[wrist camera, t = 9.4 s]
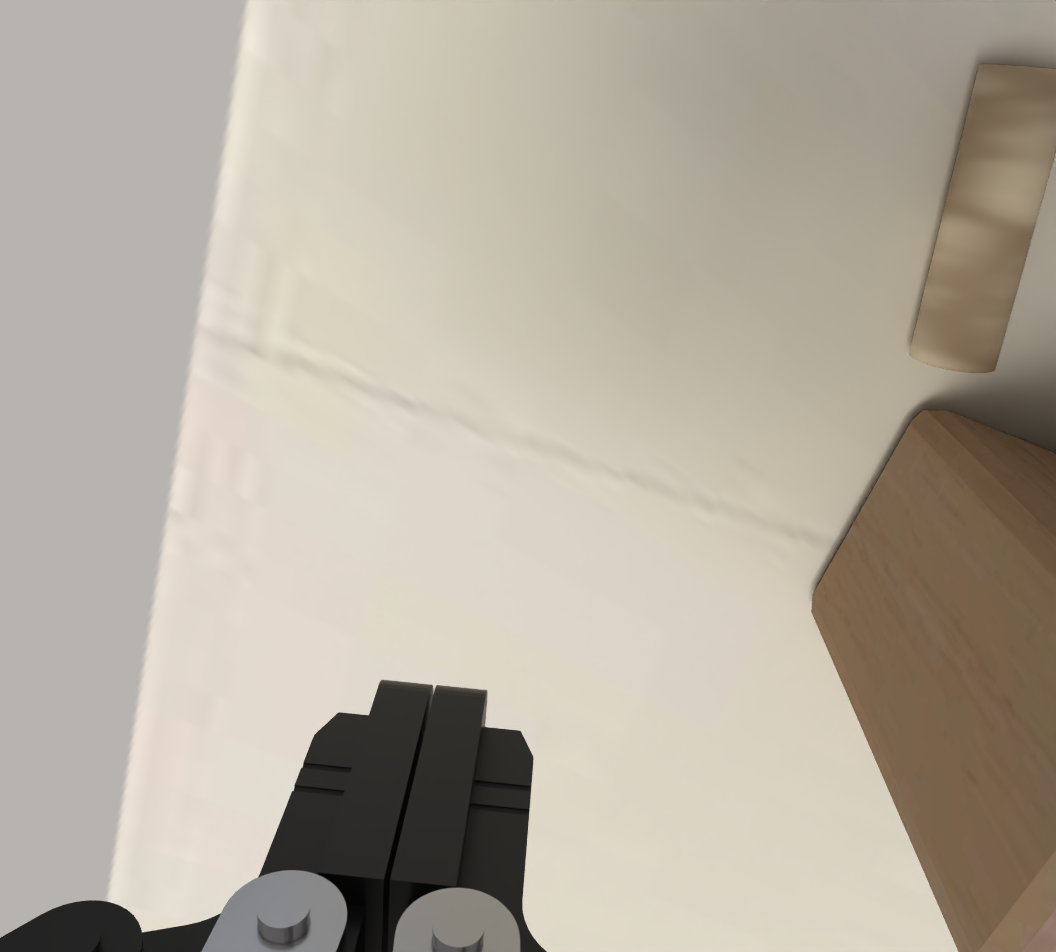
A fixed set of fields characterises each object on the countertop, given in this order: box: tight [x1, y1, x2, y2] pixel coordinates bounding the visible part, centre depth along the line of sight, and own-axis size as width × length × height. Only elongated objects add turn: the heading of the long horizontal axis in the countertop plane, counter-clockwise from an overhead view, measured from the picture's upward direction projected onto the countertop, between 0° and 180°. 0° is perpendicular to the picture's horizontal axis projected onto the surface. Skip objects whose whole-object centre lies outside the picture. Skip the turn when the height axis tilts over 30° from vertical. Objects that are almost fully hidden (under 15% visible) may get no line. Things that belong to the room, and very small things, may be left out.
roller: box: [909, 64, 1056, 373], centre depth 35 cm, size 10×3×3 cm
